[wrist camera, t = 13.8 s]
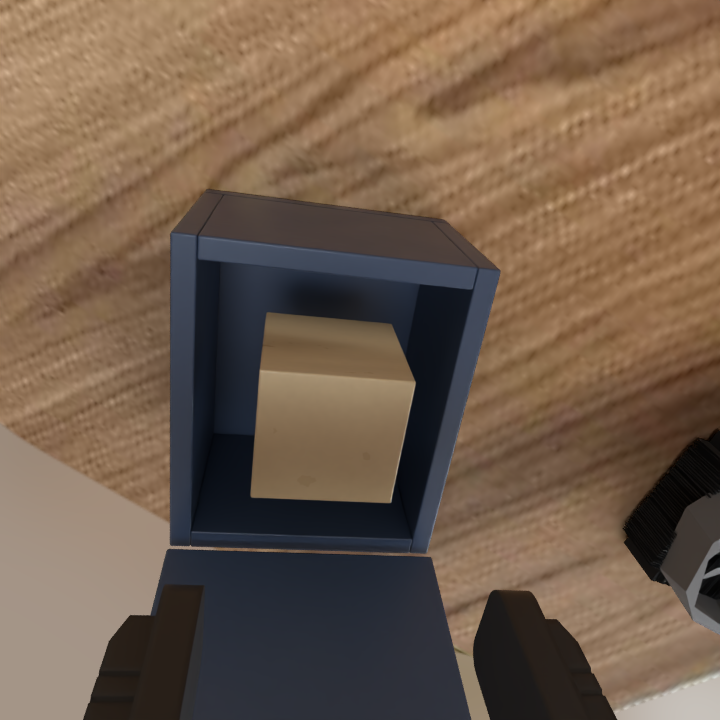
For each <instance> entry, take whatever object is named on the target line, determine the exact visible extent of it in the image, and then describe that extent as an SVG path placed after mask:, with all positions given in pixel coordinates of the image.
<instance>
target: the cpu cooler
mask: <svg viewBox="0 0 720 720" xmlns="http://www.w3.org/2000/svg"><path fill="white" fill-rule="evenodd" d="M697 439H699V438H697ZM699 440H700V441H701V442H700V441H697V440H696V441H697V442H698V443H699V444H698V443H695V442H694V443H695V444H697V445H698V446H697V445H694V444H693V445H694V446H695V447H696V448H695V447H692V446H691V447H692V448H693V449H692V448H690V447H689V449H690V450H691V451H690V450H688V451H689V452H690V453H689V452H687V451H685V453H684V455H685V456H684V455H682V457H683V458H682V457H680V458H681V459H682V460H681V459H679V461H677V462H678V463H679V464H678V463H675V464H676V465H677V466H676V465H675V466H676V467H677V468H678V469H677V468H675V467H672V468H673V469H674V470H673V469H670V470H671V471H672V472H671V471H669V473H670V474H671V475H670V474H668V475H665V476H666V477H664V478H665V479H664V478H663V480H664V481H662V480H661V482H662V483H661V482H660V485H661V486H660V485H658V486H656V487H657V488H658V489H657V488H656V489H657V490H658V491H656V490H653V491H654V492H655V493H656V494H655V493H653V494H650V495H651V496H652V497H650V496H649V497H650V498H649V497H647V499H648V500H647V499H646V501H647V502H646V501H644V503H642V504H643V505H641V506H640V509H639V508H638V510H639V511H640V512H639V511H637V512H638V513H637V512H635V514H633V515H634V516H633V515H632V516H633V517H634V518H635V519H634V518H632V520H631V519H629V521H628V522H629V523H627V522H626V524H627V525H626V524H625V525H626V526H627V527H628V528H627V527H625V526H624V527H625V529H624V528H623V529H624V531H625V532H626V533H627V535H628V536H629V537H628V539H627V540H626V541H625V542H624V543H625V545H626V546H627V547H628V549H629V550H630V552H631V553H632V554H633V556H634V557H635V559H636V560H637V561H638V563H639V564H640V566H641V567H642V568H643V570H644V571H645V572H646V574H647V575H648V577H649V578H650V579H651V580H653V581H657V582H659V583H661V584H666V585H668V586H671V587H672V589H673V590H674V592H675V593H676V595H677V596H678V598H679V599H680V601H681V603H682V604H683V606H684V607H685V609H686V610H687V612H688V613H689V615H690V616H691V618H692V620H693V621H695V622H697V623H699V624H700V625H702V626H704V627H706V628H708V629H710V630H712V631H713V632H715V633H717V634H719V635H720V430H719V431H718V432H717V433H716V434H715V436H714V437H713V438H712V440H711V441H710V442H708V441H705V440H702V439H699ZM686 453H687V454H686Z"/></svg>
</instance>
